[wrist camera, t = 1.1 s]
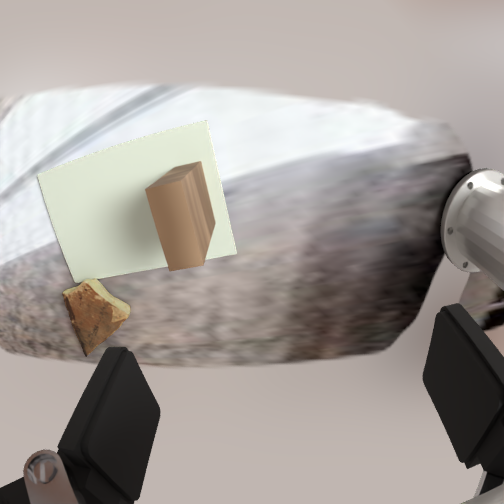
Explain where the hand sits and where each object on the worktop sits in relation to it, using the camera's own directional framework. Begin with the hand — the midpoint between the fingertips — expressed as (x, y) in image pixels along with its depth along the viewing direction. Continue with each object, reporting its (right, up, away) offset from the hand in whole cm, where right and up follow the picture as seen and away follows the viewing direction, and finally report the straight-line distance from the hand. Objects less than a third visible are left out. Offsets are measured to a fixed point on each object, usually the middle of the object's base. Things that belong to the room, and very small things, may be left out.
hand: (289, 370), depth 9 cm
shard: (-19, -4, +26) cm, 33 cm away
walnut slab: (-6, +9, +20) cm, 23 cm away
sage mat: (-13, +8, +21) cm, 26 cm away
